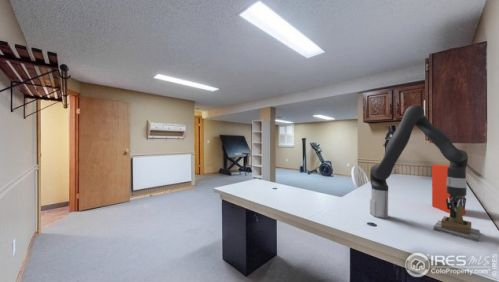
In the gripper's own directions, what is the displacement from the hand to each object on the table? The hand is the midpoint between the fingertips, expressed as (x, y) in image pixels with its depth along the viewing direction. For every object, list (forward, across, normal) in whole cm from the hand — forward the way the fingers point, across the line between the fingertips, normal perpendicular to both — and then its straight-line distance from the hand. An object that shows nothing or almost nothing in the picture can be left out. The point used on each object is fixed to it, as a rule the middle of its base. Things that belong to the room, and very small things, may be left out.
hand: (456, 216), depth 107 cm
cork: (+4, 0, 0) cm, 4 cm away
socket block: (+8, 0, 0) cm, 8 cm away
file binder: (+8, +39, +22) cm, 46 cm away
